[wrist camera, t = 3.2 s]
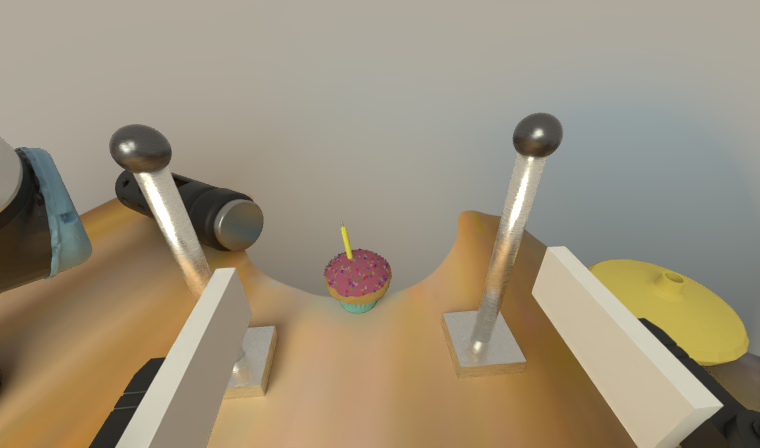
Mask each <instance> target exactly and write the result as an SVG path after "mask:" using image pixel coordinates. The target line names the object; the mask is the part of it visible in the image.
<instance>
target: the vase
mask: <svg viewBox="0 0 760 448" xmlns="http://www.w3.org/2000/svg"><path fill="white" fill-rule="evenodd" d="M588 270H589V271H590V272H591V273H592V274H593V275H594V276H595V277H596V278H597V279H598V280H599V281H600V282H601V283H602V284H603V285H604V286H605V287H606V288H607V289H608V290H609V291H610V292H611V293H612V294H613V295H614V296H615V297H616V298H617V299H618V300H619V301H620V302H621V303H622V304H623V305H624V306H625V307H626V308H627V309H628V310H629V311H630V312H631V313H632V314H633V315H634V316H635V317H636V318H645V319H647V320H648V321H650V322H651V323H653V324H655V325H656V326H658V327H659V328H661V329H662V330H663V331H664V332H666V333H667V334H668V335H669V336H670V337H671V338H672V339H673V340H674V341H675V342H676V343H677V346H680V347H681V348H682V349H683V350H684V351H685V352H686V353H687V354H689V357H690V358H693V359H694V360H695V361H696V362H697V363H698V364H699V365H705V366H711V365H716V364H722V363H727V362H730V361H733V360H736V359H738V358H739V357H741V356H742V355H743V354H745V353H746V352H747V348H748V344H749V340H748V336H747V333H746V330H745V327H744V325H743V323H742V321H741V320H740V318H739V317H738V316H737V314H736V313H735V312H734V310H733V309H732V308H731V307H730V306H729V305H728V304H726V303H725V302H724V301H723V300H722V299H721V298H720V297H719V296H717V295H716V294H714V293H713V292H711V291H710V290H708V289H707V288H706V287H704V286H702V285H701V284H699V283H697V282H695V281H693V280H691V279H690V278H688V277H686V276H683V275H681V274H679V273H676V272H674V271H671V270H669V269H667V268H664V267H660V266H657V265H654V264H650V263H646V262H641V261H636V260H625V259H616V260H606V261H602V262H599V263H597V264H594V265H592V266H590V267H589V268H588Z"/></svg>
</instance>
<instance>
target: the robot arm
mask: <svg viewBox="0 0 760 448" xmlns="http://www.w3.org/2000/svg"><path fill="white" fill-rule="evenodd" d="M91 254H92V246H91V243H90V240H89V238H88V236H87V233H86V231H85V229H84V227H83V224H82V222H81V220H80V218H79V215H78V213H77V211H76V209H75V207H74V205H73V202H72V200H71V198H70V196H69V193H68V192H67V189H66V188H65V185H64V183H63V181H62V179H61V176H60V174H59V172H58V170H57V168H56V165H55V164H54V161H53V159H52V157H51V155H50V154H49V153H48V152H47V151H46V150H43V149H40V148H30V149H29V148H26V147H23V148H16V149H15V150H14V149H13V148H12V147H11V146H10V145H9V144H8V143H7V142H6V141H5V140H4V139H2V138H1V137H0V293H2V292H5V291H8V290H11V289H14V288H17V287H19V286H22V285H25V284H28V283H31V282H34V281H37V280H40V279H43V278H44V279H48V278H52V277H54V276H55V275H56V274H57V273H59V272H62V271H65V270H67V269H70V268H72V267H75V266H77V265H80V264H82V263H84V262H85V261H87V260H88V259H89V257H90V256H91ZM532 295H533V296H534V298H535V299H536V301H537V302H538V303H539V305H540V306H541V308H542V309H543V311H544V312H545V314H546V315H547V316H548V318H549V319H550V321H551V322H552V324H553V325H554V327H555V328H556V329H557V331H558V332H559V334H560V335H561V337H562V338H563V340H564V341H565V342H566V344H567V345H568V347H569V348H570V350H571V351H572V353H573V354H574V355H575V357H576V358H577V360H578V361H579V363H580V364H581V366H582V367H583V369H584V370H585V371H586V373H587V374H588V376H589V377H590V379H591V380H592V382H593V383H594V384H595V386H596V387H597V389H598V390H599V392H600V393H601V395H602V396H603V397H604V399H605V400H606V402H607V403H608V405H609V406H610V408H611V409H612V410H613V412H614V413H615V415H616V416H617V418H618V419H619V421H620V422H621V423H622V425H623V426H624V428H625V429H626V431H627V432H628V434H629V435H630V436H631V438H632V439H633V441H634V442H635V444H636V445H637V447H638V448H676V447H677V446H678V445H679V444H680V445H681V447H682V448H760V412H757V411H754V410H747V409H746V408H745V407H744V406H742V405H741V404H740V403H739V402H738V401H737V400H736V399H735V398H734V397H732V396H731V395H730V394H729V393H728V392H727V391H726V390H725V389H724V388H723V387H722V386H721V385H720V384H719V383H718V382H717V381H716V380H715V379H714V378H713V377H712V376H711V375H709V374H708V373H707V372H706V371H705V370H704V369H703V368H702V367H701V366H700V365H699V364H698V363H697V362H696V361H695V360H694V359H693V358H690V357H689V354H687V353H686V352H685V351H684V350H683V349H682V348H681V347H680V346H677V343H676V342H675V341H674V340H673V339H672V338H671V337H670V336H669V335H668V334H667V333H666V332H664V331H663V330H662V329H661V328H659V327H658V326H656V325H655V324H653V323H651V322H650V321H648V320H647V319H645V318H636V317H635V316H634V315H633V314H632V313H631V312H630V311H629V310H628V309H627V308H626V307H625V306H624V305H623V304H622V303H621V302H620V301H619V300H618V299H617V298H616V297H615V296H614V295H613V294H612V293H611V292H610V291H609V290H608V289H607V288H606V287H605V286H604V285H603V284H602V283H601V282H600V281H599V280H598V279H597V278H596V277H595V276H594V275H593V274H592V273H591V272H590V271H589V270H588V269H587V268H586V267H585V266H584V265H583V264H582V263H581V262H580V261H579V260H578V259H577V258H576V257H575V256H574V255H573V254H572V253H571V252H570V251H569V250H568V249H567V248H566V247H565V246H561V247H548V248H547V251H546V253H545V256H544V259H543V262H542V265H541V268H540V270H539V273H538V276H537V279H536V282H535V285H534V288H533V290H532ZM251 316H252V311H251V309H250V306H249V303H248V300H247V297H246V295H245V292H244V289H243V286H242V283H241V281H240V278H239V275H238V272H237V269H236V268H220V269H216V270H215V272H214V274H213V276H212V277H211V279H210V281H209V283H208V284H207V286H206V288H205V290H204V292H203V293H202V295H201V297H200V299H199V300H198V302H197V304H196V306H195V307H194V309H193V311H192V313H191V315H190V316H189V318H188V320H187V322H186V323H185V325H184V327H183V329H182V330H181V332H180V334H179V336H178V338H177V339H176V341H175V343H174V345H173V346H172V348H171V350H170V352H169V353H168V355H167V357H165V358H153V359H150V360H149V361H148V362H147V363H146V364H145V365H144V366H143V367H142V368H141V369H140V370H139V371H138V372H137V373H136V374H135V375H134V376H133V378H132V380H131V381H130V383H129V384H128V386H127V387H126V389H125V391H124V392H123V393H124V394H123V396H121V397H120V399H119V400H118V402H117V403H116V405H115V407H114V410H113V411H111V413H110V414H109V416H108V418H107V419H106V421H105V422H104V424H103V426H102V427H101V429H100V430H99V432H98V434H97V435H96V437H95V438H94V440H93V442H92V443H91V445H90V446H89V448H206V446H207V443H208V440H209V437H210V434H211V432H212V429H213V426H214V423H215V420H216V417H217V414H218V411H219V409H220V406H221V403H222V400H223V397H224V394H225V391H226V388H227V386H228V383H229V380H230V377H231V374H232V371H233V368H234V365H235V363H236V360H237V357H238V354H239V351H240V348H241V345H242V342H243V339H244V337H245V334H246V331H247V328H248V325H249V322H250V319H251ZM1 380H2V374H1V370H0V384H1Z"/></svg>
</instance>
